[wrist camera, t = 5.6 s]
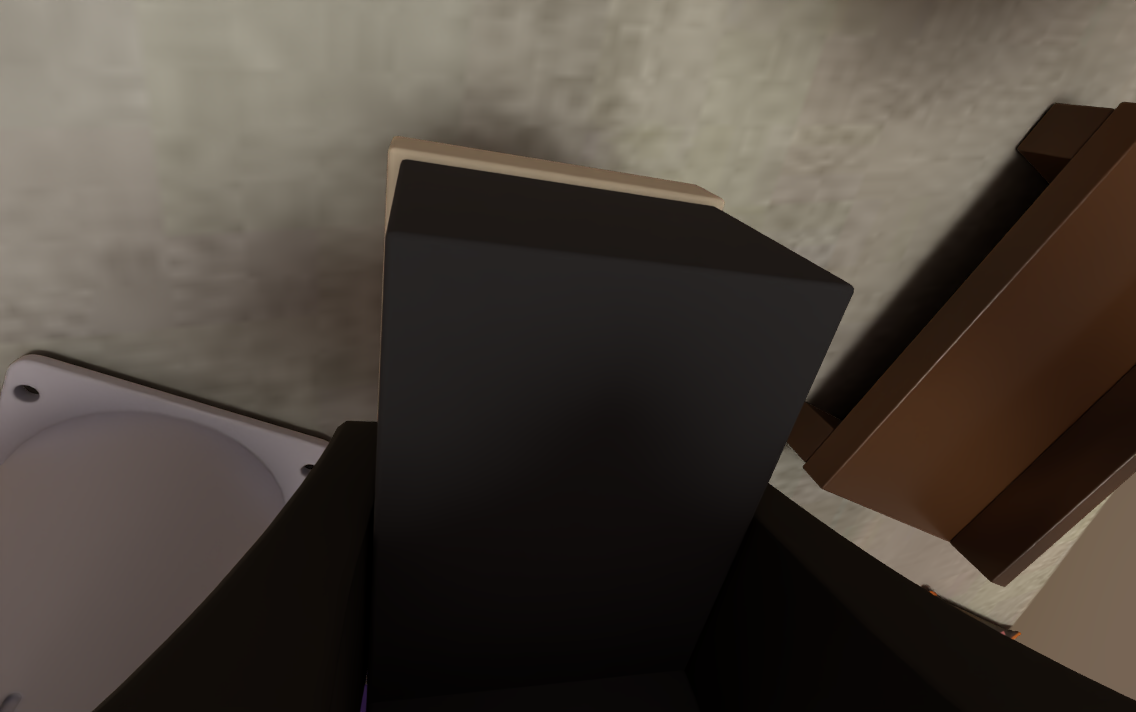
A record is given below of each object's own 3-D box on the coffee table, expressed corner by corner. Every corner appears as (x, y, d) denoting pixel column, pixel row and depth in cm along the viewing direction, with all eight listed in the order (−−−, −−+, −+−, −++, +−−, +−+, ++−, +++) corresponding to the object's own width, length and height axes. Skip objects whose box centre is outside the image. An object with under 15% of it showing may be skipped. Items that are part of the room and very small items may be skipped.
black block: (583, 587, 13) (675, 909, 8) (372, 599, 11) (334, 991, 7) (698, 184, 9) (1024, 356, 4) (392, 134, 7) (332, 297, 3)
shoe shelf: (907, 496, 25) (1004, 588, 21) (774, 436, 22) (860, 532, 17) (1169, 229, 21) (1359, 277, 17) (1059, 95, 17) (1267, 112, 13)
